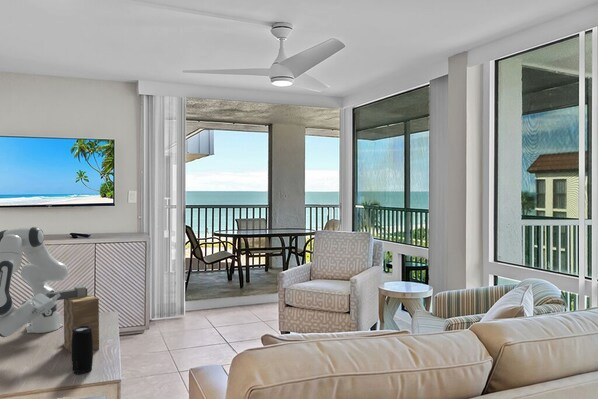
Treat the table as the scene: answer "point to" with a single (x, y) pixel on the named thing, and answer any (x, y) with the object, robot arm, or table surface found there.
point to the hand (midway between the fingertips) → (56, 292)
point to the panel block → (81, 318)
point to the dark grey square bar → (70, 293)
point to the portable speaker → (82, 349)
